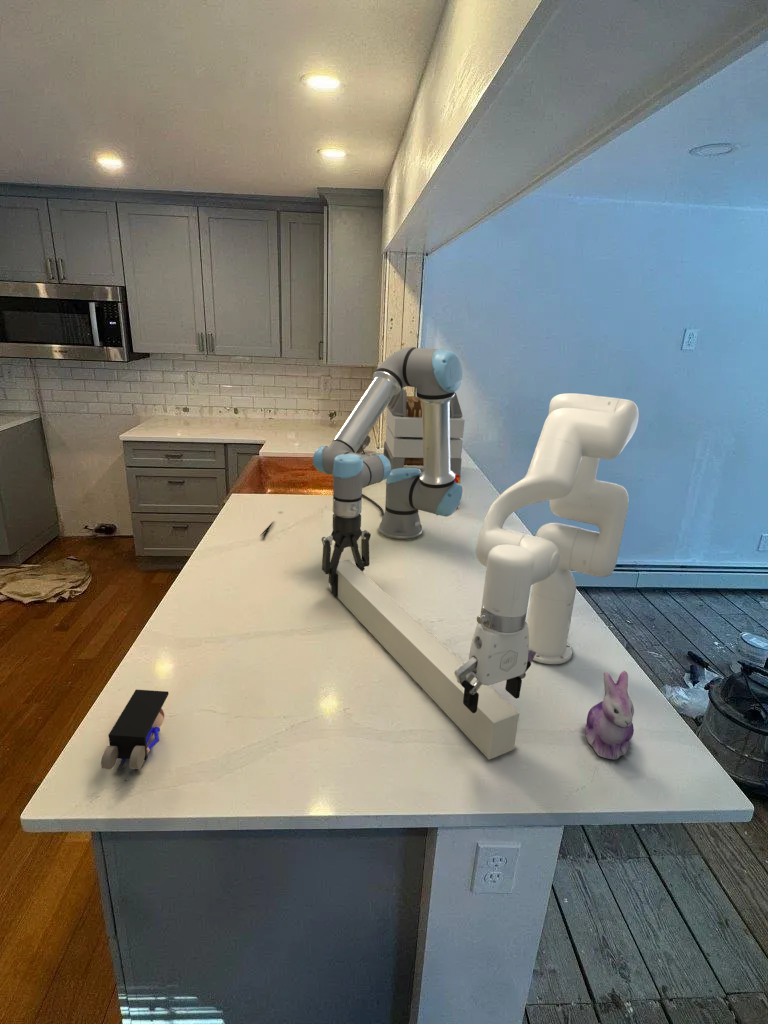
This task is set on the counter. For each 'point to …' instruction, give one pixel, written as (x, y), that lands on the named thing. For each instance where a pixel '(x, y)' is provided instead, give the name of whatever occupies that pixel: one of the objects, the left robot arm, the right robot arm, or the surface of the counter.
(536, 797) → the counter surface
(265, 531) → the feather
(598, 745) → the figurine
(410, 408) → the grey slatted crate
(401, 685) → the counter surface
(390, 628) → the bar
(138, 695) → the figurine character
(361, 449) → the fossil
